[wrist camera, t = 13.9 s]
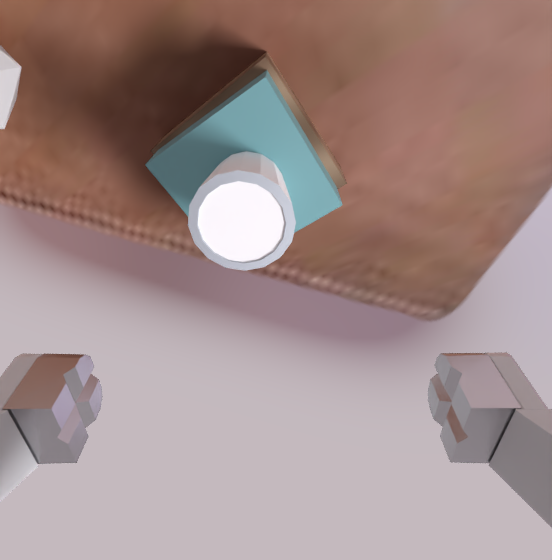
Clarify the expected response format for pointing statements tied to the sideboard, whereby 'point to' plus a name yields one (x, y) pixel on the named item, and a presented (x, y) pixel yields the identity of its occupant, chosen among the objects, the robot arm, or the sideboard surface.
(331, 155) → the tower base block
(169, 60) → the sideboard surface
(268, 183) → the white rimmed cylinder
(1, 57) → the die
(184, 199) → the tower top block
